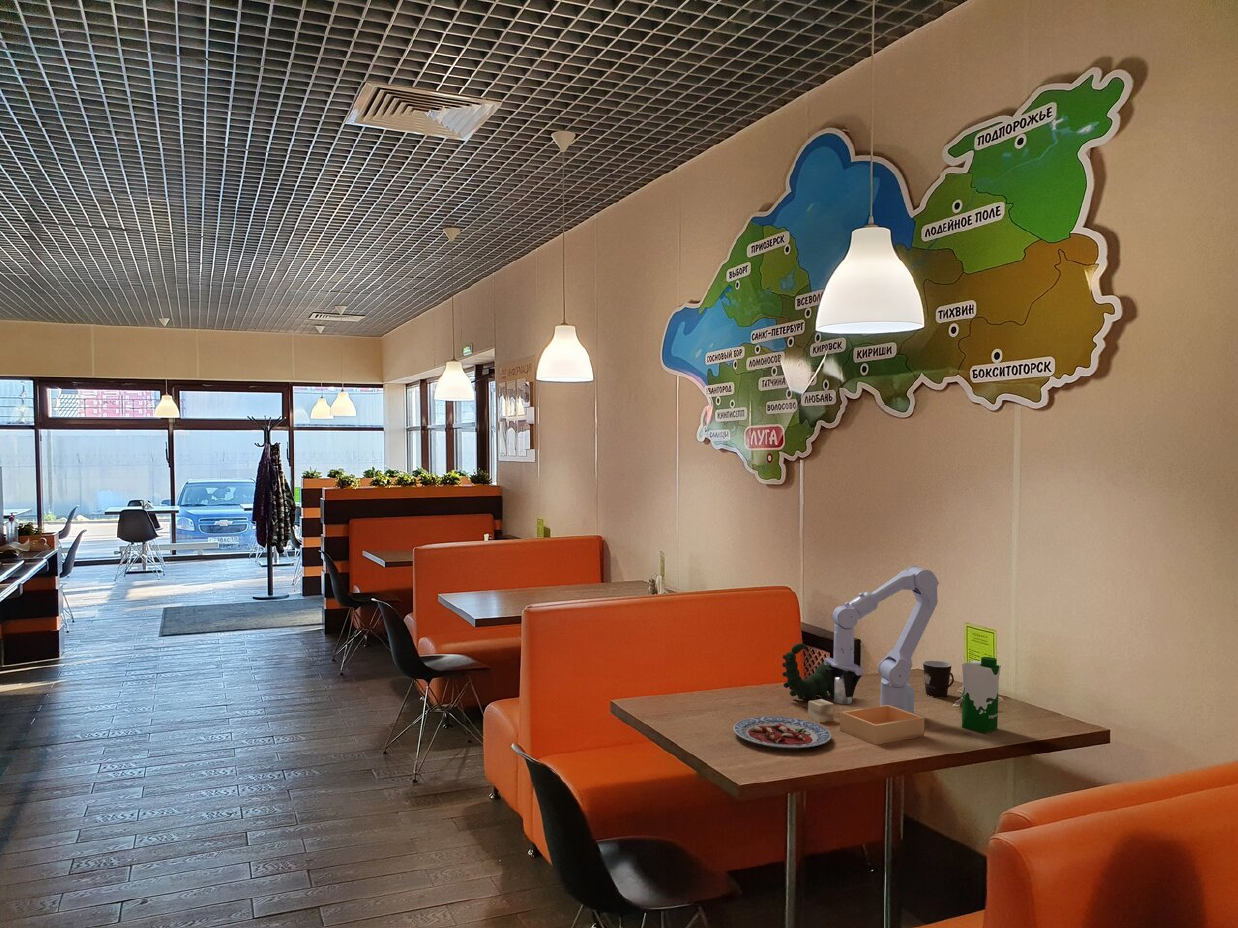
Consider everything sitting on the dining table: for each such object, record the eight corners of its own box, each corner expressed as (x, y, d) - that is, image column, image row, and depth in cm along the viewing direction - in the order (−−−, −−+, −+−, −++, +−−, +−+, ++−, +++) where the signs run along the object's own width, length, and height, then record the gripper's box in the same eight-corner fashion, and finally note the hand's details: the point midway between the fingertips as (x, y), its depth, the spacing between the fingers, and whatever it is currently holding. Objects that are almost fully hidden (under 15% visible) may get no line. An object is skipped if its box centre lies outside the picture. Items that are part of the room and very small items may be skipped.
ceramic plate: (756, 758, 226) (757, 746, 226) (718, 727, 251) (718, 716, 251) (849, 751, 233) (849, 739, 233) (803, 721, 258) (803, 711, 258)
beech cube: (821, 716, 263) (821, 699, 263) (833, 720, 259) (833, 703, 259) (807, 718, 261) (808, 701, 261) (819, 723, 256) (819, 705, 256)
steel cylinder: (843, 698, 268) (843, 674, 268) (855, 702, 264) (855, 678, 264) (830, 699, 266) (830, 676, 266) (842, 704, 261) (842, 680, 261)
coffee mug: (919, 690, 294) (920, 659, 293) (947, 692, 292) (948, 661, 292) (926, 700, 282) (927, 668, 282) (955, 702, 281) (956, 669, 281)
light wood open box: (887, 722, 258) (887, 704, 258) (923, 735, 246) (924, 717, 246) (839, 729, 250) (840, 711, 250) (875, 744, 238) (875, 725, 238)
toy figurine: (797, 711, 273) (860, 695, 284) (794, 649, 272) (858, 635, 283) (778, 703, 281) (840, 687, 293) (775, 643, 280) (837, 630, 292)
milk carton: (988, 734, 248) (990, 662, 248) (956, 727, 255) (958, 656, 254) (1002, 728, 254) (1003, 657, 254) (970, 721, 261) (972, 652, 260)
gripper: (816, 644, 269) (815, 689, 269) (850, 654, 256) (849, 702, 256) (835, 642, 272) (834, 687, 273) (869, 652, 260) (868, 699, 260)
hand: (842, 694), depth 265 cm, fingers closed on steel cylinder, 5 cm apart
